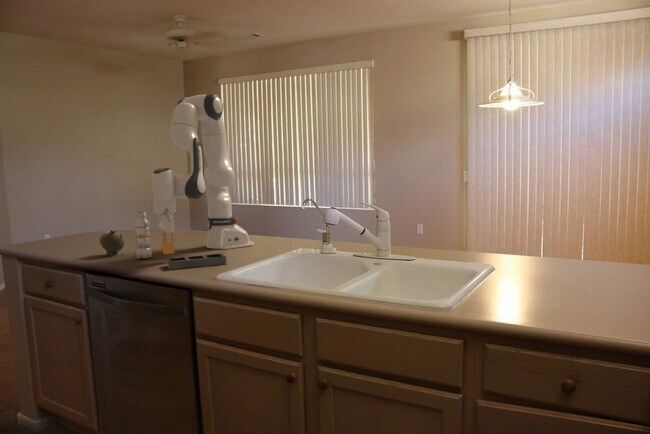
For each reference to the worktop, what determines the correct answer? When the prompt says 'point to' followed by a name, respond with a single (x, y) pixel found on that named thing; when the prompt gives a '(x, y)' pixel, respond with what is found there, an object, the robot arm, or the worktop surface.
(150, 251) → the plastic bottle
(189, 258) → the grey compartment tray
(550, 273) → the worktop surface
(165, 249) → the orange block
